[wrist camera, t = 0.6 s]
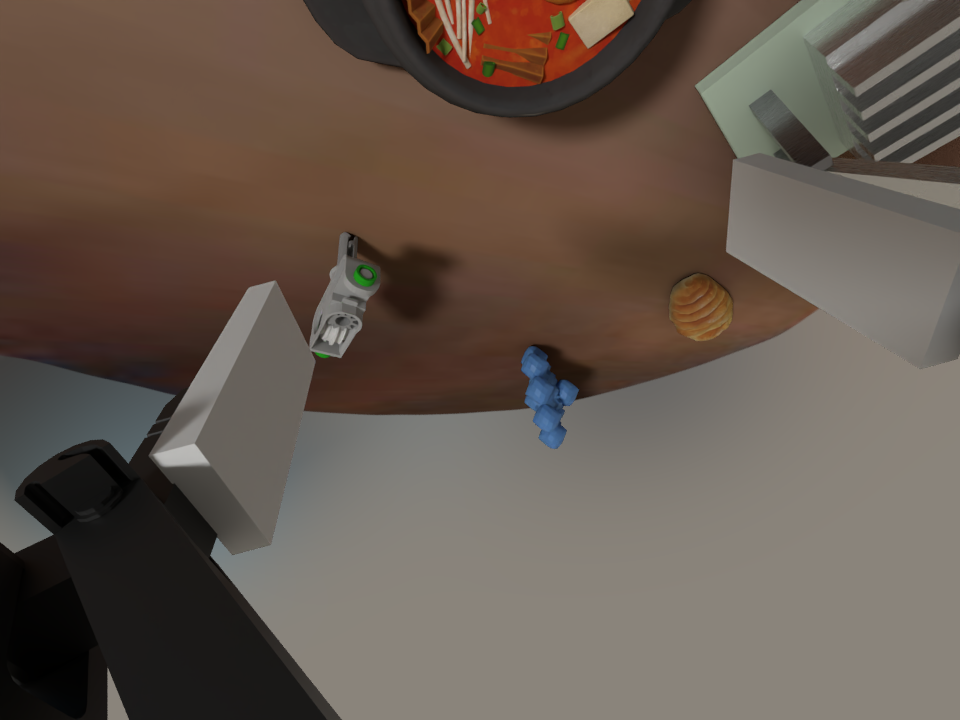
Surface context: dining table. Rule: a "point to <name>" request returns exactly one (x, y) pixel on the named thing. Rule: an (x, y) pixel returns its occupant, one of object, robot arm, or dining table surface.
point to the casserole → (499, 45)
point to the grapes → (546, 396)
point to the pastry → (700, 307)
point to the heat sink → (878, 83)
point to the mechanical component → (343, 301)
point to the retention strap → (905, 178)
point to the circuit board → (773, 83)
